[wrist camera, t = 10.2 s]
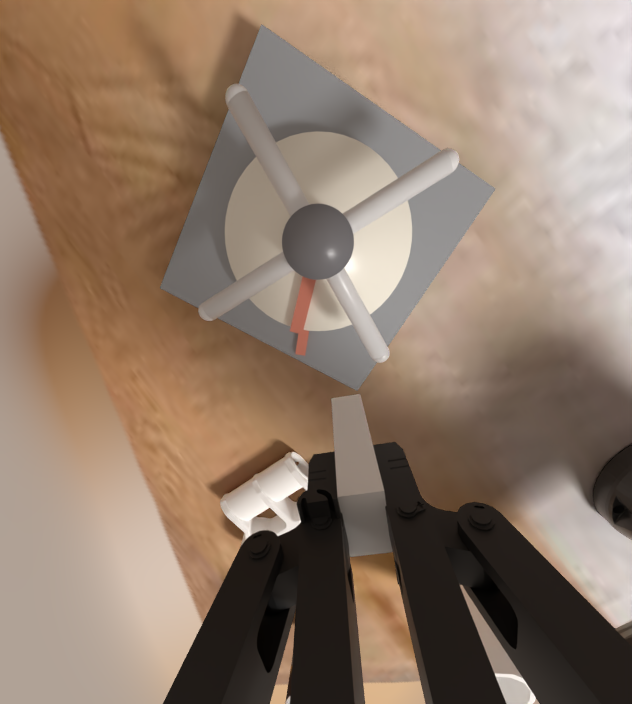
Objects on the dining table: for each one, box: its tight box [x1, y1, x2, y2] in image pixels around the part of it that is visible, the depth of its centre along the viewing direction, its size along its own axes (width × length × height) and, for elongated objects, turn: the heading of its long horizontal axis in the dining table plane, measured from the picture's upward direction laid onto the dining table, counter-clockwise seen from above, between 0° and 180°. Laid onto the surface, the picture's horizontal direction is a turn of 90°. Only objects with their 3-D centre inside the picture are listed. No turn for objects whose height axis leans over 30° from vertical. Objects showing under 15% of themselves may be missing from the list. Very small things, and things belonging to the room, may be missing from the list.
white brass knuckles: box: [220, 452, 309, 546], centre depth 41 cm, size 3×18×15 cm
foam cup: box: [460, 585, 536, 704], centre depth 40 cm, size 10×9×13 cm
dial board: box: [160, 24, 495, 391], centre depth 29 cm, size 22×22×2 cm
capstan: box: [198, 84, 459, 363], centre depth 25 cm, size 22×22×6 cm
